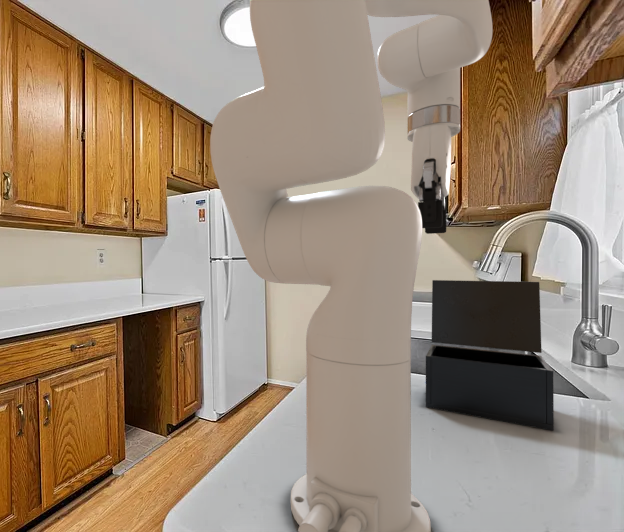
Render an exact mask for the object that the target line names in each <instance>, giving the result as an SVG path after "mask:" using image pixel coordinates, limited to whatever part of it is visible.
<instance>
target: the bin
mask: <svg viewBox="0 0 624 532" xmlns="http://www.w3.org/2000/svg"><path fill="white" fill-rule="evenodd" d="M554 391H555V390H554V370H553V369H552V367H551V366H550V365H549V364H548V362H547V361H546V360H545V359H544V357H543V356H542V355H539V354H528V353H518V352H510V351H499V350H489V349H481V348H480V349H479V348H470V347H459V346H448V345H441V344H440V345H439V344H431V346H430V348H429V349H428V351H427V353H426V354H425V408H428V409H435V410H439V411H445V412H450V413H456V414H459V415H460V414H461V415H466V416H472V417H476V418H477V417H478V418H483V419H487V420H494V421H499V422H505V423H509V424H515V425H521V426H526V427H531V428H536V429H542V430H547V431H554V430H555V429H554V428H555V426H554V423H555V422H554V421H555V420H554V419H555V414H554V413H555V409H554V405H555V404H554V396H555V395H554V394H555V393H554Z"/></svg>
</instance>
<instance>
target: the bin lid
mask: <svg viewBox="0 0 624 532" xmlns="http://www.w3.org/2000/svg"><path fill="white" fill-rule="evenodd" d="M431 283H432V284H431V288H432V289H431V343H435V344H447V345H454V346H465V347H475V348H476V347H477V348H485V349H487V348H488V349H496V350H507V351H508V350H509V351H516V352H528V353H538V354H542V352H543V351H542V321H541V320H542V319H541V290H540V281H516V280H515V281H513V280H512V281H510V280H509V281H508V280H505V281H504V280H453V279H452V280H451V279H450V280H448V279H447V280H446V279H444V280H443V279H432V282H431Z"/></svg>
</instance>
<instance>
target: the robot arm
mask: <svg viewBox="0 0 624 532" xmlns="http://www.w3.org/2000/svg"><path fill="white" fill-rule="evenodd" d="M429 15H431V16H432V15H433V17H430V18H428V19H425V20H423V21H421V22H419V23H416V24H413V25H411V26H408V27H406V28H403V29H400V30H398V31H396V32H394V33H392V34H391V35H389V36H388V37H386V38H385V39H384V40H383V41H382V42H381V44H380V46H379V48H378V50H377V62H376V58H375V53H374V52H375V51H374V46H373V40H372V35H371V28H370V23H369V17H372V18H373V17H374V18H405V17H406V18H407V17H416V16H417V17H418V16H429ZM434 15H435V16H434ZM368 16H369V17H368ZM249 19H250V20H249V21H250V27H251V31H252V35H253V39H254V43H255V47H256V51H257V55H258V59H259V63H260V67H261V72H262V77H263V86H262V87H260V88H257V89H255V90H252V91H250V92H247V93H245V94H241V95H240V96H238V97H235V98H234V99H232V100H230V101H229V102H227V103H226V104H225V105H224V106H223V107H222V108H221V109H220V110H219V112H218V113H217V114H216V117H215V118H214V120H213V123H212V127H211V131H210V137H209V138H210V139H209V152H210V160H211V167H212V169H213V173H214V176H215V179H216V182H217V185H218V188H219V191H220V193H221V196H222V198H223V201H224V204H225V207H226V210H227V212H228V215H229V217H230V220H231V222H232V226H233V228H234V231H235V234H236V237H237V239H238V241H239V244H240V247H241V249H242V252H243V254H244V256H245V259H246V261H247V263H248V265H249V266H250V268H251V269H252V271H253V272H254V273H255V274H256V275H257V276H258V277H259V278H261V279H263V280H264V281H267V282H270V283H275V284H285V285H289V284H290V285H314V286H315V285H316V286H323V287H324V286H325V287H330V288H329V289H328V291H327V293H326V295H325V297H324V298H323V300H321V302H320V303H319V305H318V306H317V308H316V309H315V311H314V312H313V313H312V315H311V318H310V320H309V322H308V325H307V329H306V335H305V337H306V338H305V351H306V356H305V357H306V358H305V359H306V365H305V366H306V369H305V371H306V373H305V376H306V379H305V380H306V385H305V386H306V387H305V388H306V398H305V399H306V400H305V401H306V408H305V409H306V411H305V412H306V417H305V418H306V419H305V420H306V429H305V431H306V432H305V433H306V434H305V435H306V436H305V437H306V440H305V441H306V442H305V443H306V444H305V445H306V452H305V453H306V464H305V465H306V473H305V474H304V475H302V476H300V477H299V478H298V479H297V480H296V481H295V482H294V484H293V485H292V488H291V490H290V511H291V513H292V516H293V519H294V520H295V522H296V523H297V525H299V526H298V527H297V528H298V529H297V532H432V530H431V529H432V528H431V527H432V526H431V519H430V514H429V511H427V509H426V507H425V506H424V504H423V503H422V502H421V501H420V500H419V499H418V498H417V497H416V495H415V494H413V493H412V311H413V297H414V290H415V281H416V275H417V269H418V263H419V258H420V253H421V246H422V238H423V229H424V232H425V234H427V235H430V234H431V235H432V234H445V233H447V209H446V199H445V198H446V197H447V196H448V195H450V186H451V185H450V184H451V172H452V138H453V137H454V136H457V135H458V134H459V133H460V132H461V68H463V67H467V66H469V65H472V64H475V63H477V62H479V61H480V60H481V59H482V58H483V57H484V56H485V55H486V54H487V52H488V51H489V49H490V46H491V44H492V40H493V32H494V31H493V18H492V12H491V6H490V1H489V0H249ZM376 63H377V65H376ZM377 68H378V69H377ZM378 72H379V74H380V75H381V77H382V78H383V79H384V80H385V81H387V83H388V84H390V85H392V86H394V87H396V88H399V89H402V90H405V91H406V92H407V100H406V101H407V102H406V103H407V106H406V107H407V108H406V110H407V112H406V113H407V124H406V125H407V126H406V127H407V128H406V129H407V130H406V131H407V132H406V133H407V138H406V139H407V141H409V142H412V148H411V174H410V192H411V193H412V194H413V196H414V197H415V198H416V199H418V202H416V201H415V199H414V198H413V197H412V196H411V195H409V194H408V193H407V192H405V191H403V190H401V189H398V188H395V187H392V186H386V185H359V186H352V187H345V188H338V189H332V190H331V189H330V190H324V191H319V192H318V191H317V192H316V193H308V194H302V195H293V196H289V195H288V190H289V189H293V188H294V189H295V188H300V187H306V186H311V185H316V184H323V183H327V182H335V181H338V180H343V179H347V178H351V177H354V176H357V175H360V174H362V173H364V172H366V171H368V170H370V169H371V168H372V167H373V166H374V165H376V164H377V162H378V161H379V160H380V158H381V157H382V154H383V152H384V148H385V143H386V127H385V116H384V108H383V101H382V95H381V88H380V82H379V77H378ZM287 189H288V190H287Z"/></svg>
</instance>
